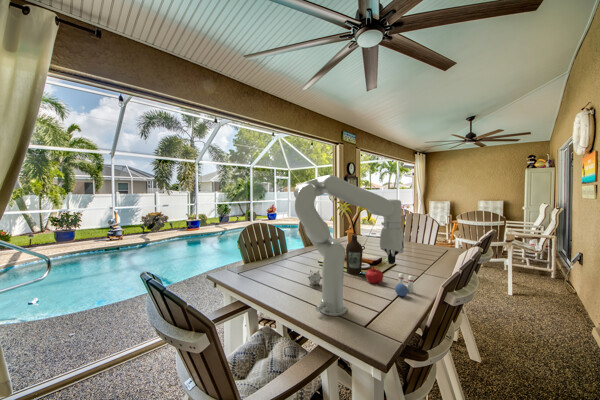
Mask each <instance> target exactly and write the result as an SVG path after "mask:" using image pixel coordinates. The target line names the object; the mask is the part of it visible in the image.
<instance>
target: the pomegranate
mask: <svg viewBox="0 0 600 400" xmlns="http://www.w3.org/2000/svg"><path fill="white" fill-rule="evenodd" d="M365 278H366V281H367V283H369V284H381V283H382V281H383V280H384V272H382V271H381V270H380V268H379V269H378V268H375V266H374V265H373V266H372V267H371V268H370V269H368V270H366V272H365Z"/></svg>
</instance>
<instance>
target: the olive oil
mask: <svg viewBox="0 0 600 400" xmlns="http://www.w3.org/2000/svg"><path fill="white" fill-rule="evenodd" d="M345 261H346V273H347V274H349V275H351V276H353V275H354V276H355V275H356V276H358V275H360V274H359V273H360V272H361V273H362V269H363V267H362V266H363V264H362V261H363V246H362V245H361V243H360V242H359V240H358V234H354V233H352V234H351V240H350V241H349V242H348V243H347V244H346V248H345Z"/></svg>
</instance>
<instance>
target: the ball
mask: <svg viewBox="0 0 600 400" xmlns="http://www.w3.org/2000/svg"><path fill="white" fill-rule="evenodd" d="M405 285H406V284H404V285H403V284H399V283H398V284H396V286H395V288H394V290H395V291H394V292H395V293H396V295H398V296H399V297H405V296H407V294H409V292H408V289H407V287H406V286H405Z"/></svg>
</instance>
